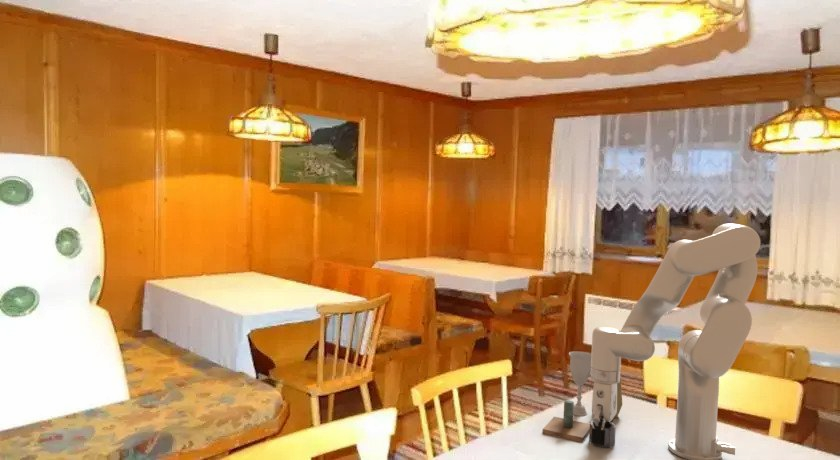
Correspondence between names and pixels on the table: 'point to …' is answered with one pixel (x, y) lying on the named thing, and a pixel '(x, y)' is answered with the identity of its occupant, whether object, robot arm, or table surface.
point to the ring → (609, 434)
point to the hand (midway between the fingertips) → (602, 437)
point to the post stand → (567, 425)
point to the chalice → (580, 376)
